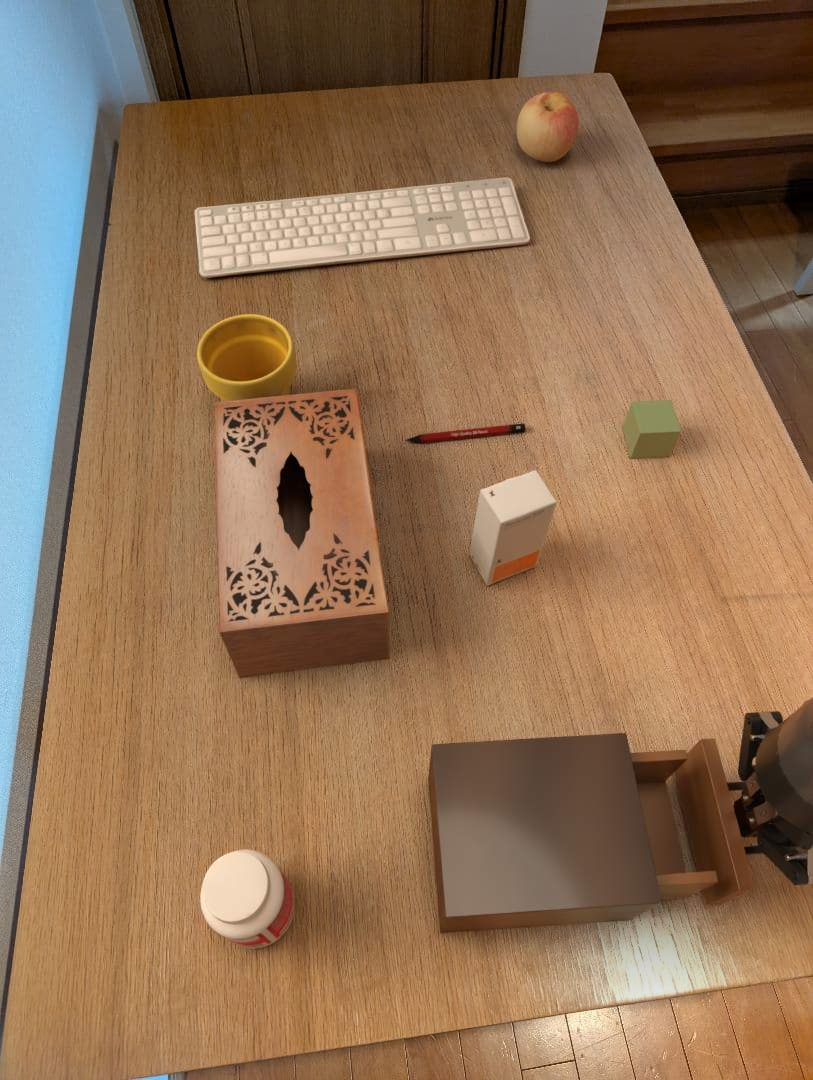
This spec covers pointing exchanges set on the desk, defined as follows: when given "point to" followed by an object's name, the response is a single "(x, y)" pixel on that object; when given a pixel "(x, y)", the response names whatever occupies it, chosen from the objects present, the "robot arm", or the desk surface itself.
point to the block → (651, 429)
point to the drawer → (694, 824)
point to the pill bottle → (247, 899)
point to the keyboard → (358, 227)
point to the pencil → (468, 433)
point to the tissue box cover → (297, 535)
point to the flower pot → (247, 358)
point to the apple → (547, 126)
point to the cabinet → (538, 833)
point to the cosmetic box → (511, 526)
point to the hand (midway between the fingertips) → (742, 821)
